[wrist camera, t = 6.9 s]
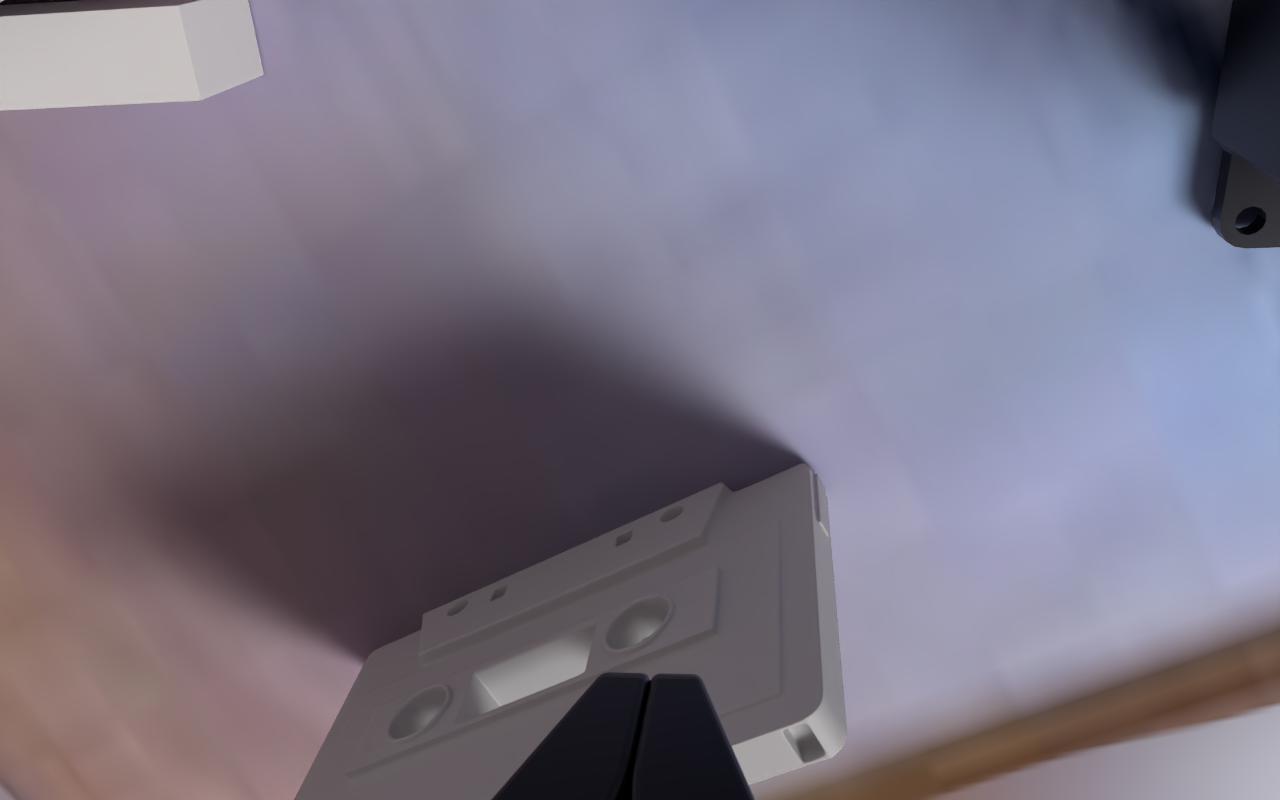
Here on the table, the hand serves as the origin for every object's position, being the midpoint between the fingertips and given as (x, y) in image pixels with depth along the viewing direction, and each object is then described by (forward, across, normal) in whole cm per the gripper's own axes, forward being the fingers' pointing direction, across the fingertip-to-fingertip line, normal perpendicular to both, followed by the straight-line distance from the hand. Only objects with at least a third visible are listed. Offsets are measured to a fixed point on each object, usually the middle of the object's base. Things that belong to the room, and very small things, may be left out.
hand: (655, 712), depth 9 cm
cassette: (+13, +3, +8) cm, 16 cm away
